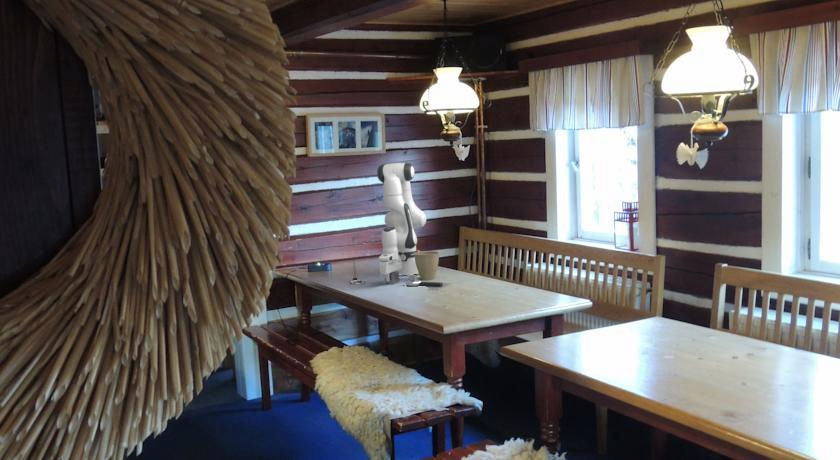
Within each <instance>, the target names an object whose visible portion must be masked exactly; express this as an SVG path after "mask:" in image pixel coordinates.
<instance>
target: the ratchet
mask: <svg viewBox="0 0 840 460" xmlns="http://www.w3.org/2000/svg"><path fill="white" fill-rule="evenodd" d="M443 283H444V282H440V281H439V282H436V281H423V280H421V279H418V275H409V279H408V280H406V281H405V284H406V286H407V287H418V286H426V287H442V286H443Z"/></svg>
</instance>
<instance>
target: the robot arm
mask: <svg viewBox="0 0 840 460" xmlns="http://www.w3.org/2000/svg"><path fill="white" fill-rule="evenodd" d="M376 174H377V175H376V176H377V179H378V181H380V182H381V183H382V185H383V187H382V188H383V189H382V190H383V191H382V195H383V198H382V199H383V203H384V206H385V207H386V208H387V209H388V210H390V211H389V212H388V211H387V212H386V214H385V216H384V223H385V225H386V227H384V228H383V229H382V231H381V245H382V253H381V255H379V257H378V262H379V263H378V264H379V273H380V275H382V276H383V275H384V278H385V277H386V281H387V282H389V281H390V278H389V273H392V272H395V271H399V274H401V275H400V276H403V275H407V276H411V274H418V275H419V273H418V270H417V266H416V263H415V258H414V253H416V252H421V251H420V250H419V249H417V244H418V238H417V237H418V236H417V233H416V231H415V229H419V228H422V227H425V225H426V224H427V215H426V213H425V212H424V211H423V210H422V209H420V208H419V207H418V206H417V205H416V203H415V200H414V198H413V194H412V186H411V180H413V179H414V177H415V168H414V165H413V164H412V163H411V162H394V163H393V162H392V163H383V164H381V165H379V166H378V168H377V172H376Z"/></svg>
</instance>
